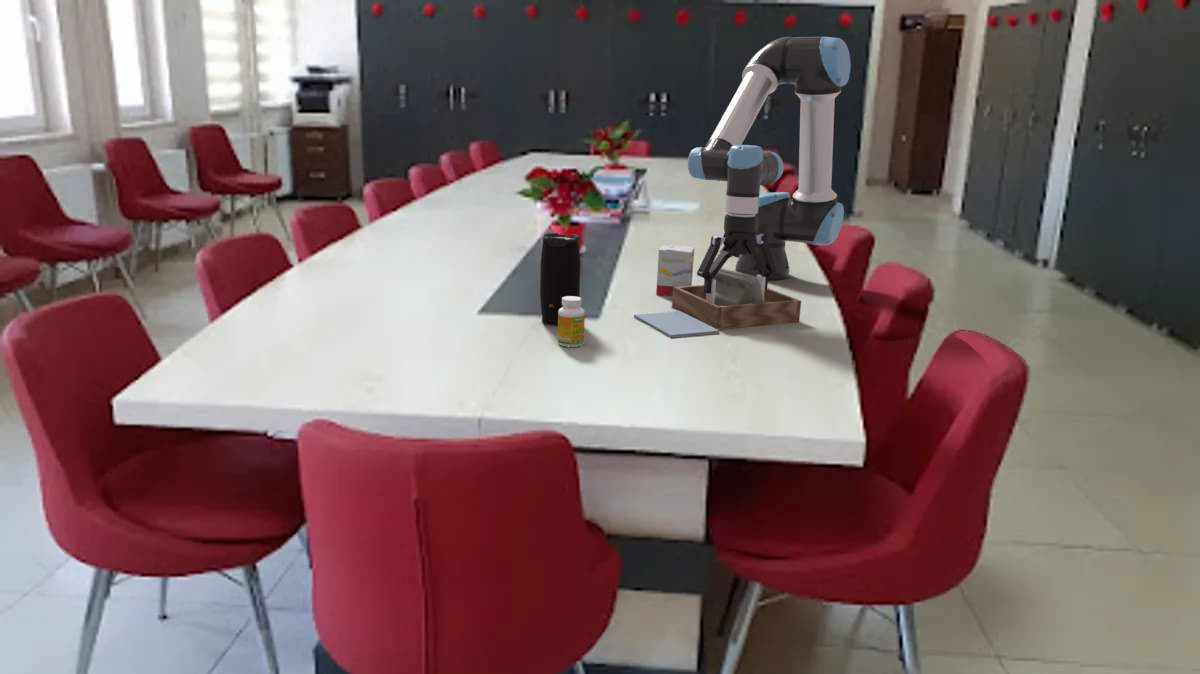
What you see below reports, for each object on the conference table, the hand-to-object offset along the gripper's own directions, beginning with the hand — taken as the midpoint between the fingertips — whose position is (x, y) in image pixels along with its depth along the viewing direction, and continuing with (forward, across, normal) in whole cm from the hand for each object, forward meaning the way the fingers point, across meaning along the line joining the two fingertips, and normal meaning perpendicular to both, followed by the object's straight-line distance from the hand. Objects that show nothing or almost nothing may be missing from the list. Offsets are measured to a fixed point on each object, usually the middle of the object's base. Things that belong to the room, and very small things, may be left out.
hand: (734, 305), depth 219 cm
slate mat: (+2, +18, +4) cm, 19 cm away
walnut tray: (+2, 0, 0) cm, 2 cm away
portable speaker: (+3, +42, -6) cm, 42 cm away
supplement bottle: (+3, +46, +12) cm, 47 cm away
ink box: (+3, +3, -24) cm, 25 cm away
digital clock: (+3, 0, 0) cm, 3 cm away
